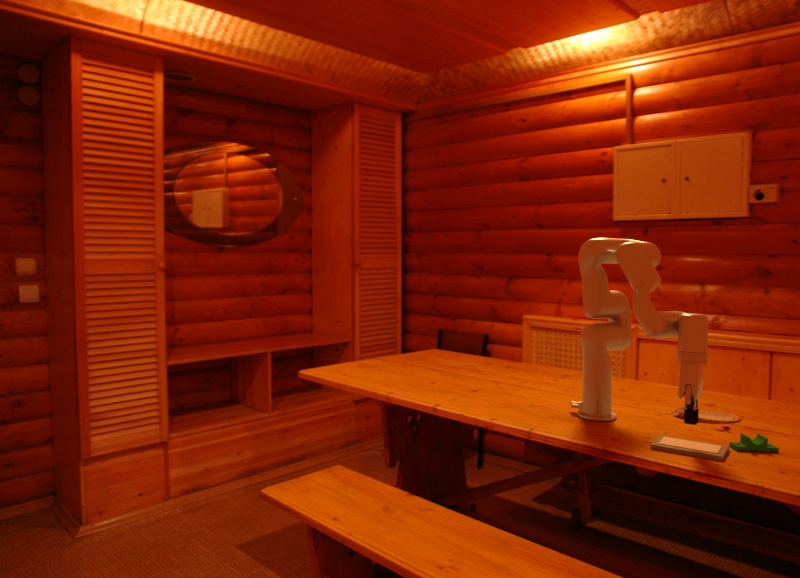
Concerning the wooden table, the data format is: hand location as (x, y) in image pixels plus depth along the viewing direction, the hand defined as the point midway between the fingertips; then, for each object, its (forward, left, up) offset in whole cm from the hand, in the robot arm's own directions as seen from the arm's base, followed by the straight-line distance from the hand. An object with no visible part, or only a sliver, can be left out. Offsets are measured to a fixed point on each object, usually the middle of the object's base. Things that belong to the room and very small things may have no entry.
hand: (691, 422), depth 169 cm
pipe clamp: (+11, +14, -5) cm, 18 cm away
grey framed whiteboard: (0, 0, -8) cm, 8 cm away
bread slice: (-2, +39, -8) cm, 39 cm away
